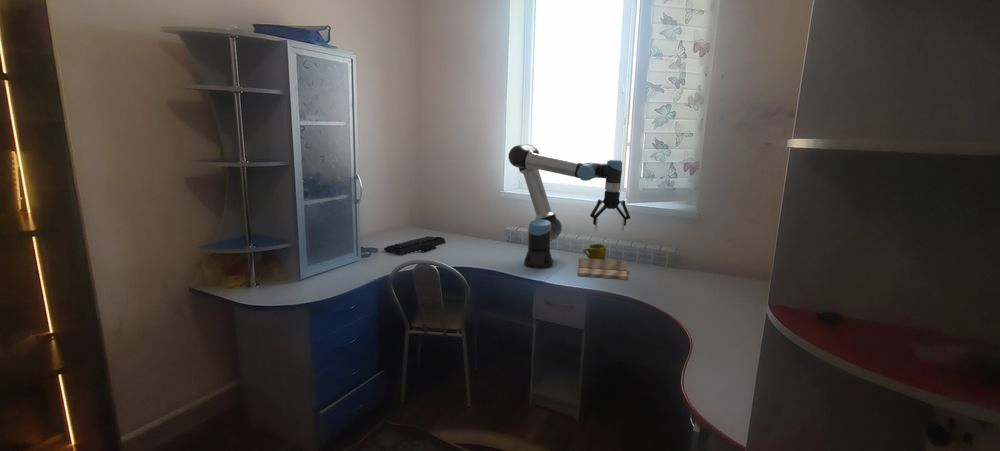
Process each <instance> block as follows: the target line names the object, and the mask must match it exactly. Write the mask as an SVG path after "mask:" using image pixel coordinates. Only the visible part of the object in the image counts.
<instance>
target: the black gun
mask: <svg viewBox="0 0 1000 451" xmlns="http://www.w3.org/2000/svg"><path fill="white" fill-rule="evenodd" d="M444 244H446V240H445V237H442V236H429V235H428V236H423V237H420V238H414V239H410V240H407V241H403V242H399V243H395V244H391V245H387V246H386V247H384V248H383V250H384V251H385V250H388V251H391V252H390V253H392V252H395V253H394V254H396V253H398V254H397V255H400V254H401V256H404V255H403V254H406V255H408V254H407V253H409V254H412V253H411V252H413V253H416V252H415V251H417V252H421V253H422V252H423V251H424V252H428V251H432V250H436V249H437V247H438V246H440V245H444ZM419 250H420V251H419ZM388 251H387V252H388Z"/></svg>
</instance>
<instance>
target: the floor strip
mask: <svg viewBox="0 0 1000 451" xmlns="http://www.w3.org/2000/svg"><path fill="white" fill-rule="evenodd" d="M577 276H578V277H588V278H589V277H590V278H591V277H592V278H604V279H605V278H606V279H616V280H617V279H618V280H628V273H627V270H626V271H616V270H603V269H589V268H578V267H577Z"/></svg>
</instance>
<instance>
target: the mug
mask: <svg viewBox="0 0 1000 451" xmlns="http://www.w3.org/2000/svg"><path fill="white" fill-rule="evenodd" d="M582 252H583V253H584V254H585V255H586V257H587V259H602V260H606V245H605V244H603V243H602V244H601V243H600V244H599V243H595V244H594V243H593V244H590V245H589V246H588V247H584V248H583V250H582Z"/></svg>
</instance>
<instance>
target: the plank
mask: <svg viewBox="0 0 1000 451" xmlns="http://www.w3.org/2000/svg"><path fill="white" fill-rule="evenodd" d="M577 265H578V266H577V269H578V268H589V269H603V270H616V271H626V272H627V260H614V259H605V260H602V259H589V258H588V257H586V258H585V257H584V258H583V257H579V258H578V264H577Z"/></svg>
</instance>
